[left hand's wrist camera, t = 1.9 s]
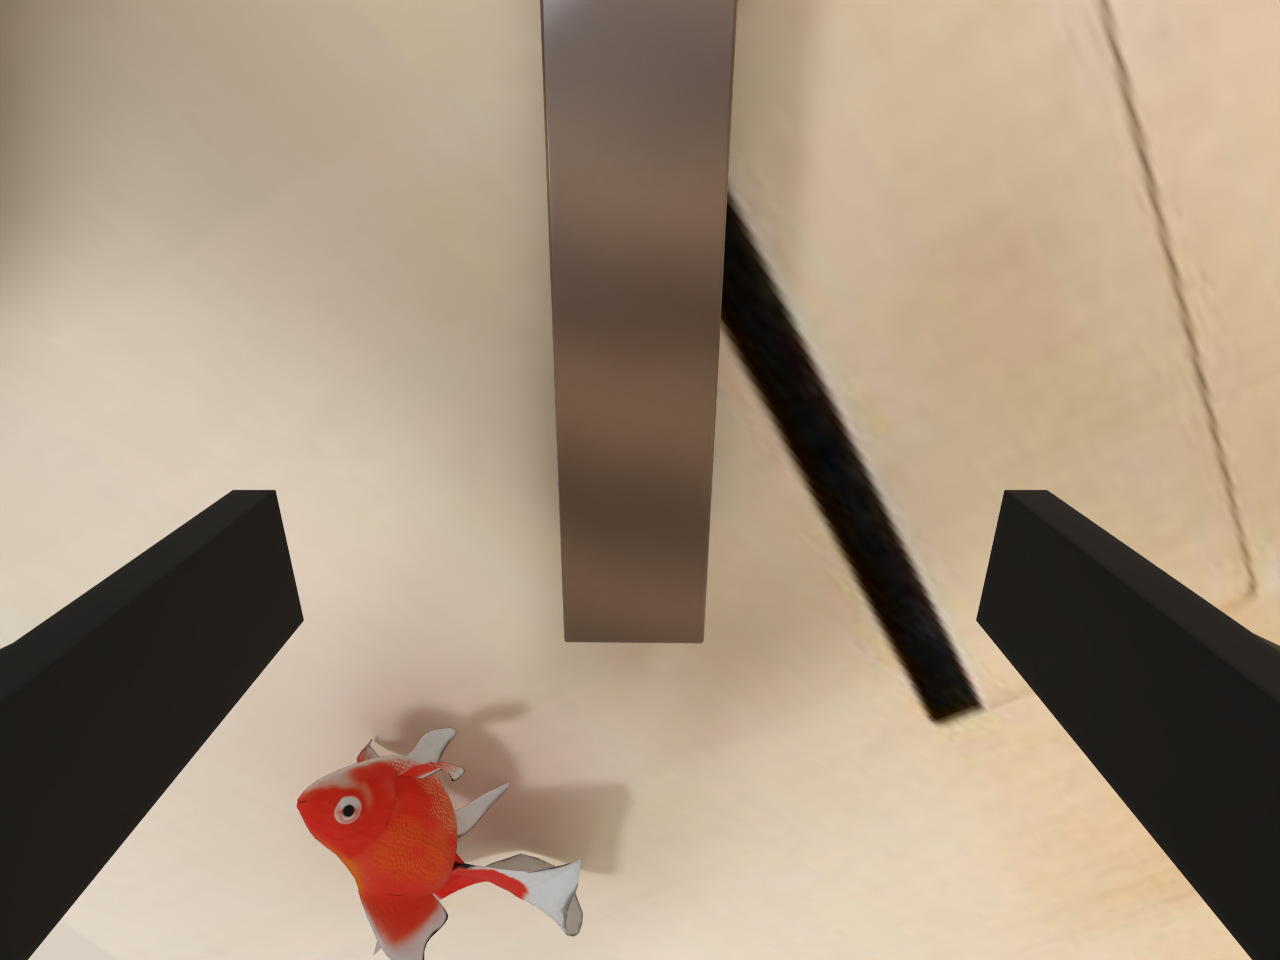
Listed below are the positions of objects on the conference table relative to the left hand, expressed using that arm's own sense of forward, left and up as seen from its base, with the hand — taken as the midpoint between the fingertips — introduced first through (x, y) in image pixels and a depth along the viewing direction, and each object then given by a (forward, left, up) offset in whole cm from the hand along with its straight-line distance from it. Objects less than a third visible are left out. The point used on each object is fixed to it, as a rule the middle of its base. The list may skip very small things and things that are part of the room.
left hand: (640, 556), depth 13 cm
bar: (-3, +29, -16) cm, 33 cm away
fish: (-6, -23, -16) cm, 28 cm away
